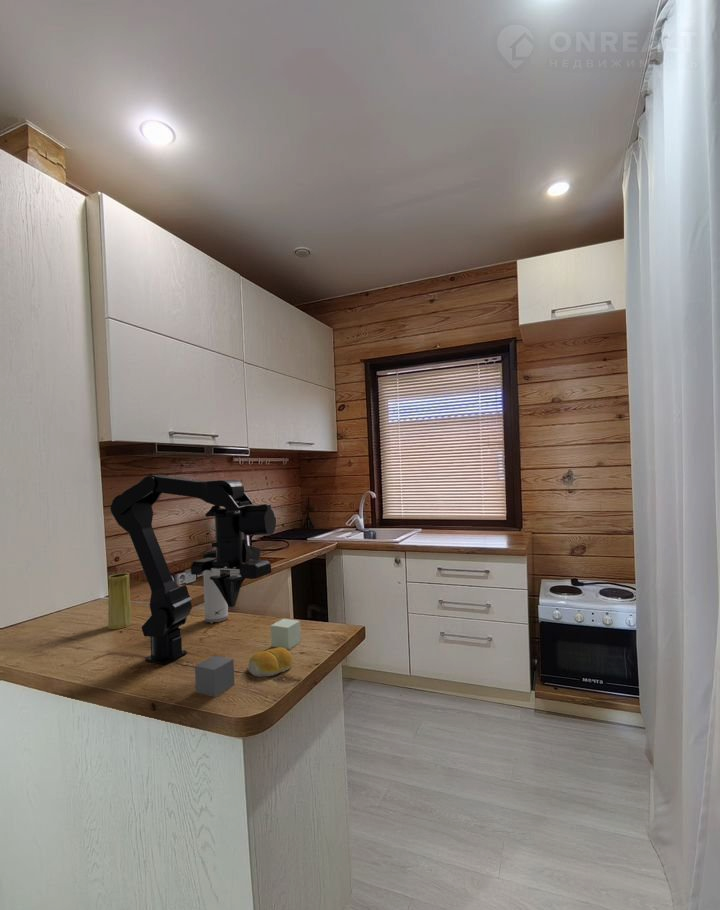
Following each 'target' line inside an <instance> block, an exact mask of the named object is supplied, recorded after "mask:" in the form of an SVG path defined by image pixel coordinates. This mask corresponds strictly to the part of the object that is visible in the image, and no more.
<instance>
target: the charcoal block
mask: <svg viewBox="0 0 720 910" xmlns="http://www.w3.org/2000/svg"><path fill="white" fill-rule="evenodd" d="M234 661H235V660H234V658H231V657H230V658H229V657H224V656H219V655H213V656H210V657H209V658H207V659H205V660H203V661H202V662H199V663H198V664H196V665H195V666H194V674H195V675H194V676H195V678H194V679H195V693H197V694H201V695H205V696H210V697H213V698H217V697H218V696H219V695H221V694H223V693H224V692H226V691H227V690H229V689H230V688H232V687H234V686H235V664H234Z"/></svg>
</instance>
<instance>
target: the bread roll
mask: <svg viewBox="0 0 720 910" xmlns="http://www.w3.org/2000/svg"><path fill="white" fill-rule="evenodd" d="M293 660H294V659H293V656H292V654H291V652H290V651H289V649H285V648H282V647H272V648H270V649H267V650H265V651H264V650H263V651H257V652H256V653H253V654H252V656H250V658H249V661H248V668H247V670H248V672H249V673H250V674H251V675H253V677H254V676H255V677H256V678H257V677H258V678H265V677H266V678H267V677H272V676H275V675H278V674H279V673H283V672H286V670H287V671H288V670H290V668H291V667H292V664H293Z"/></svg>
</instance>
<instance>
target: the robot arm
mask: <svg viewBox="0 0 720 910" xmlns="http://www.w3.org/2000/svg"><path fill="white" fill-rule="evenodd" d="M162 494H168V495H175V496H182V497H191V498H196V499H199V500H202V501H203V502H205V503H208V504H210V505H211V508H210V509H209V510H208V511H207V512H206V513H205V514H204V515H205V517H206V518H209V517H213V518H214V527H215V529H214V531H215V534H214V535H215V541H212V542H211V547H212V548H215V550H216V558H205V559H203V558H202V559H198V560H197V559H196V560H194V561H193V562H192V564H191V566H190V574H191V575H192V576H193V575H194V576H196V575H197V576H201V575H202V574H203V572H204V571H205V570H211V571H212V576H211V577H210V580H213V582H214V583H215V585H216V586H217V587H218V589H219V590H220V592H221V594H222V596H223V597H224V599H225V601H226V603H227V604H228V608H234V607H235V606H236V603H237V600H238V596H239V594H240V590H241V587H242V585H243V582H244V581H245V579H250V580H254V579H256V580H257V579H259V578H261V577H264V576H266V575H269V574H272V564H271V562H270V561H269V560H266V559H265V560H264V559H263V560H262V559H261V554H262V553H261V552H262V549H261V548H260V547H256V546H252V545H248V540H247V538H243V534H244V535H245V536H272V535H273V534H274V533H275V531H276V525H277V518H276V516H275V513H274V511H273V509H272V504H271V503H262V504H254V503H253V501H252V500H251V498H250V497H249V495H247V493H246V492H245V489H244V485H243V484H242V483H241V481H239V480H238V479H222V480H220V479H218V480H197V479H189V478H182V477H181V478H180V477H172V476H166V475H164V474H149V475H146V477H144V478H142V480H140V481H139V482H138V483H136V484H134V485H133V486H131V487H130V488H128V489H126V490H125V491H124V492H122V493H121V494H119V495H117V496H115V497H114V498H113V500H112V502H111V504H110V512H111V514H112V516H113V519H114V520H115V522H116V523H117V525H118V526H119V527H121V528H122V529H123V530H124V531H125V532H126V533H128V534H129V537H130V540H131V541H132V545H133V547H134V550H135V553H136V555H137V557H138V560H139V562H140V565H141V568H142V570H143V573H144V575H145V578H146V580H147V583H148V586H149V587H150V591H151V592H150V593H151V594H150V601H149V610H150V614H151V616H150V617H149V618H148V619H147V620H146V621H145V622H144V624H143V625H142V626H141V630H142V634H143V636H144V637H150V655H148V656H147V657H145V658H144V660H145V661H147V662H150V663H156V664H159V665H166V664H168V663H170V662H172V661H174V660H176V659H178V658H181V657H183V656H184V655H186V654H187V653H188V651H187V650H184V649H183V646H182V644H183V643H182V641H183V640H182V635H181V633H182V632H181V628H180V627H181V626H182V625H185V624H186V622H187V619H188V617H189V615H190V614H191V612H192V609H193V608H192V606H193V605H192V601H193V598H192V597H191V596H190V595H191V594H189V590H188V587H187V585H186V584H183V585H181V586H180V585H179V584H177V582H175V581H174V579H173V576H172V574H171V571H170V569H169V566H168V564H167V561H166V559H165V556H164V554H163V551H162V549H161V546H160V544H159V541H158V538H157V537H156V536H157V535H156V534H155V531H154V529H153V526H152V523H153V518H154V510H153V506H154V505H155V504H156V503H157V502H158V501H159V499H160V497H161V495H162Z"/></svg>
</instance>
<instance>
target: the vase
mask: <svg viewBox="0 0 720 910" xmlns="http://www.w3.org/2000/svg"><path fill="white" fill-rule="evenodd" d="M107 579H108V612H107V613H108V616H107V617H108V618H107V619H108V622H107V628H108V629H109V630H121V629H124V627H125V628H127V626H128V627H130V626H131V625H133V619H132V618H133V617H132V605H131V592H130V591H131V590H130V587H131V586H130V581H131V580H130V573H128V572H122V573H121V572H120V573H115V574H114V573H113V574H112V575H109V576H108V578H107Z"/></svg>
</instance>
